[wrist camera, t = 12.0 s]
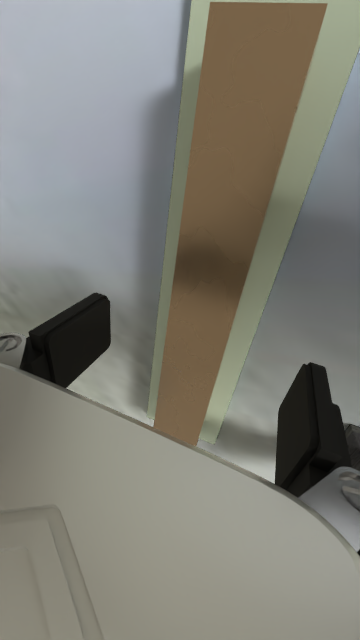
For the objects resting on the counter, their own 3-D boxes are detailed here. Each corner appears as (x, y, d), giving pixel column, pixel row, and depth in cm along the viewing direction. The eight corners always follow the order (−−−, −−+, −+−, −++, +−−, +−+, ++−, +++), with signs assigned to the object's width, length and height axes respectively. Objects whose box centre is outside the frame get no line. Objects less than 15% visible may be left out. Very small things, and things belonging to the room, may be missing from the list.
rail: (228, 49, 11) (210, 1, 8) (314, 54, 10) (328, 3, 7) (167, 410, 23) (151, 443, 20) (202, 424, 23) (191, 460, 20)
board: (197, -12, 11) (193, -21, 10) (379, -11, 9) (384, -22, 9) (149, 412, 25) (146, 416, 25) (215, 439, 24) (214, 444, 23)
